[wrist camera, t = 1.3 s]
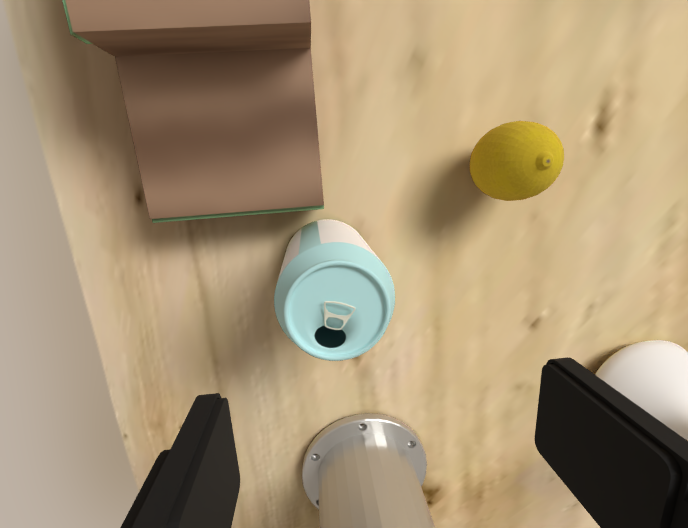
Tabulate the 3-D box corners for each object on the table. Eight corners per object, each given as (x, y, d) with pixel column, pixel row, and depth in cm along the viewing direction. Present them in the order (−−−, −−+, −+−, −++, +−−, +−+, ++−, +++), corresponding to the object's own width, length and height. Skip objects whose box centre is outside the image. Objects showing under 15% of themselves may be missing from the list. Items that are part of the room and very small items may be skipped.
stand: (322, 204, 29) (327, 216, 21) (168, 216, 28) (115, 233, 20) (296, -99, 24) (290, -229, 16) (105, -97, 23) (2, -233, 15)
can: (378, 279, 31) (419, 342, 20) (305, 309, 31) (303, 390, 20) (349, 205, 29) (376, 227, 18) (271, 237, 29) (247, 281, 18)
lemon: (443, 182, 30) (490, 186, 22) (472, 117, 28) (533, 96, 21) (498, 206, 31) (562, 218, 23) (529, 144, 29) (607, 135, 22)
